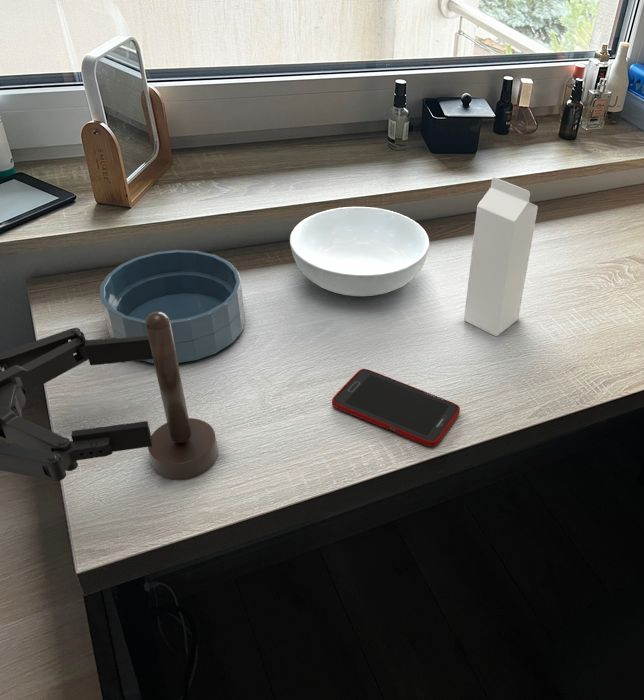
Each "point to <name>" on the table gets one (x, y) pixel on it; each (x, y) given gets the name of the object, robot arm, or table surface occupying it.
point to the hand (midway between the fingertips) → (152, 387)
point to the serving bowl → (359, 250)
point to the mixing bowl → (176, 300)
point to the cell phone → (397, 407)
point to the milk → (499, 257)
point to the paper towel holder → (176, 413)
